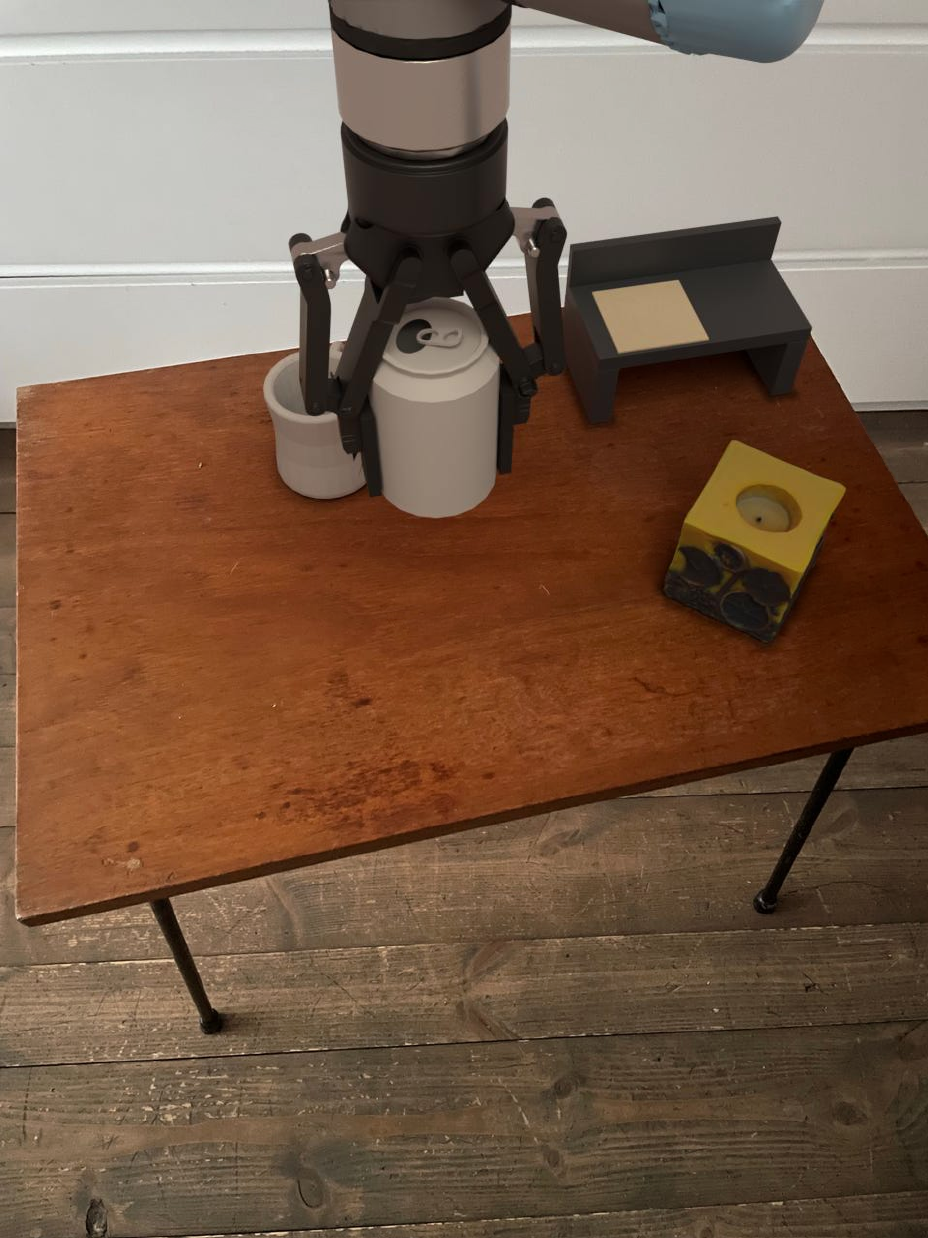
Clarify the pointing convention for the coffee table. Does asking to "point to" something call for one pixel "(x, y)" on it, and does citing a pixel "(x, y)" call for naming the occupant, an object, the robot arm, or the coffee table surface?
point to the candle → (751, 540)
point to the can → (437, 410)
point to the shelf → (679, 306)
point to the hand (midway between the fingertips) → (436, 468)
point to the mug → (309, 436)
